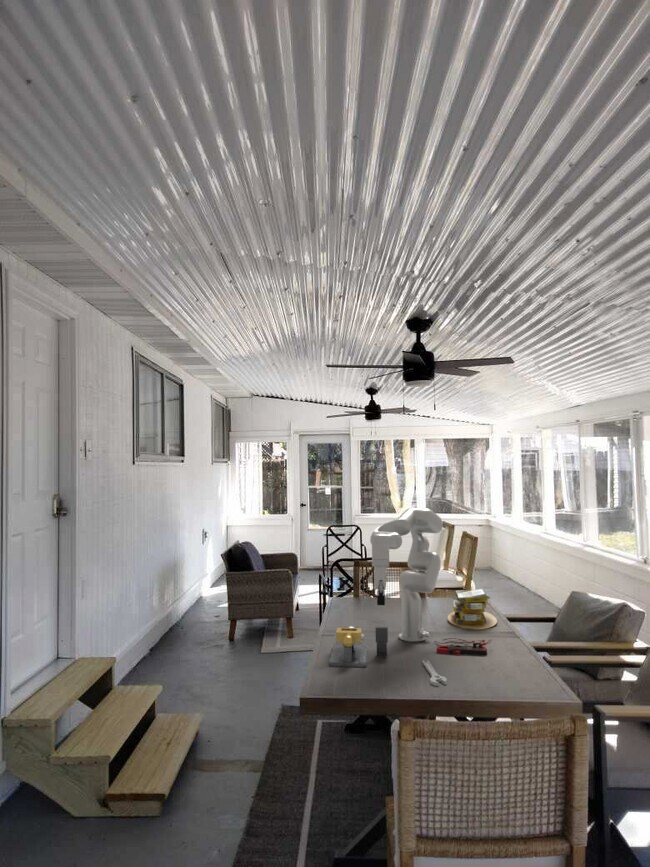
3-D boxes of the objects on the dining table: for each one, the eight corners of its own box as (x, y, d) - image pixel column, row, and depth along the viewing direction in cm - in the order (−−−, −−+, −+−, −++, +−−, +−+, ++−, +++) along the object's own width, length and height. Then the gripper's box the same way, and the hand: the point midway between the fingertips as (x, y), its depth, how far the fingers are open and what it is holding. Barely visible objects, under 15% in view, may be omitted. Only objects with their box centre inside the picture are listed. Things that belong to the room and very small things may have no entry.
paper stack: (495, 631, 272) (495, 597, 274) (445, 626, 281) (444, 593, 282) (497, 618, 296) (496, 587, 297) (450, 614, 304) (449, 584, 305)
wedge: (375, 654, 238) (375, 626, 239) (387, 655, 238) (387, 626, 238) (375, 656, 236) (375, 627, 237) (387, 656, 236) (387, 628, 236)
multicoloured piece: (334, 646, 249) (333, 621, 250) (367, 647, 248) (366, 622, 248) (329, 665, 225) (329, 638, 225) (366, 667, 223) (365, 638, 224)
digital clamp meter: (495, 647, 235) (435, 644, 239) (495, 658, 234) (435, 655, 238) (488, 632, 258) (434, 629, 262) (488, 641, 257) (434, 639, 261)
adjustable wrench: (421, 663, 228) (421, 659, 228) (436, 663, 228) (436, 659, 228) (431, 686, 203) (431, 681, 204) (448, 686, 203) (448, 681, 203)
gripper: (372, 559, 248) (372, 597, 247) (371, 565, 231) (372, 607, 230) (388, 559, 248) (389, 598, 246) (389, 565, 231) (390, 607, 229)
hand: (380, 602), depth 238 cm, fingers open, 9 cm apart
